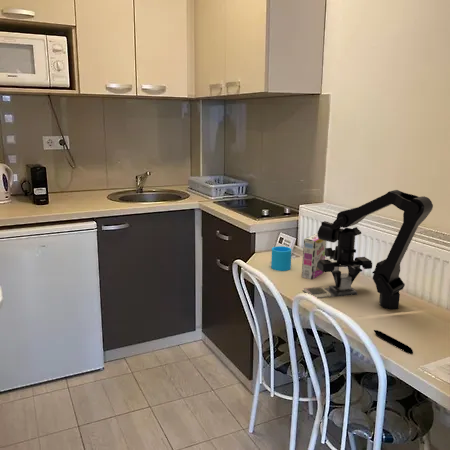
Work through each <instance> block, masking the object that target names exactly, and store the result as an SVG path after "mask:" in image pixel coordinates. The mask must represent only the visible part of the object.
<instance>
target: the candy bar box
mask: <svg viewBox="0 0 450 450" xmlns="http://www.w3.org/2000/svg"><path fill="white" fill-rule="evenodd" d="M325 248H327V241H325V240H320V239H319V238H318V235H317V233H314V234H312V235H310V236H308V237H306V238H304V239H303V248H302V249H303V252H302V266H301V278H305V279H307V280H314V279H316V278H317V277H319V276H320V275H322V274H323V273H325V272H323V271H321V270H320V269H319V268H317V263H318V261H319V260H326V259H325V258H326V256H325Z"/></svg>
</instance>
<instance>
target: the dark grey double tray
mask: <svg viewBox="0 0 450 450" xmlns="http://www.w3.org/2000/svg"><path fill="white" fill-rule="evenodd" d="M301 291H302V293H304V294H305V293H308V294H311V295H313V296H315V297H317V299H324V298H325V299H328V298H338V297H339V298H340V297H347V296H358V295H359V294H358V291H357V290H355V289H354V288H353V287H351V291H347V292H339V291H337V290H336V289H335V285H329V287H328V288H327V287H326V288H324V287H323V286H314V287H312V286H311V287H304V288H303V289H302V290H301Z"/></svg>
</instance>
